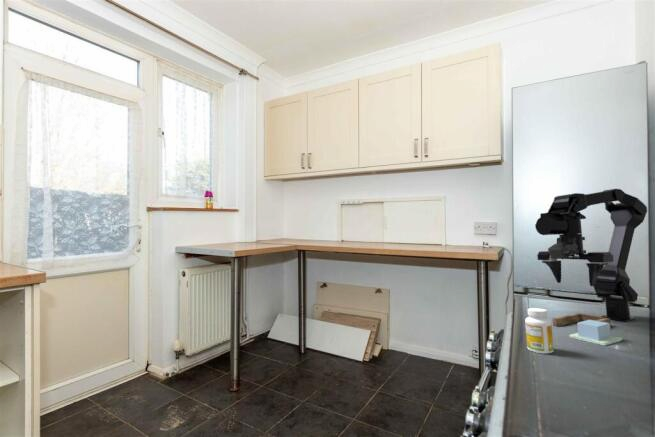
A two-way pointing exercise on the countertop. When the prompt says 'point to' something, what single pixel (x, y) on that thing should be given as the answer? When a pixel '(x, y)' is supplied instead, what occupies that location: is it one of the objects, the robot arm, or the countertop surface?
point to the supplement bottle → (539, 331)
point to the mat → (601, 342)
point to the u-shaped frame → (577, 319)
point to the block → (594, 330)
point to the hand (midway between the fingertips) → (574, 284)
